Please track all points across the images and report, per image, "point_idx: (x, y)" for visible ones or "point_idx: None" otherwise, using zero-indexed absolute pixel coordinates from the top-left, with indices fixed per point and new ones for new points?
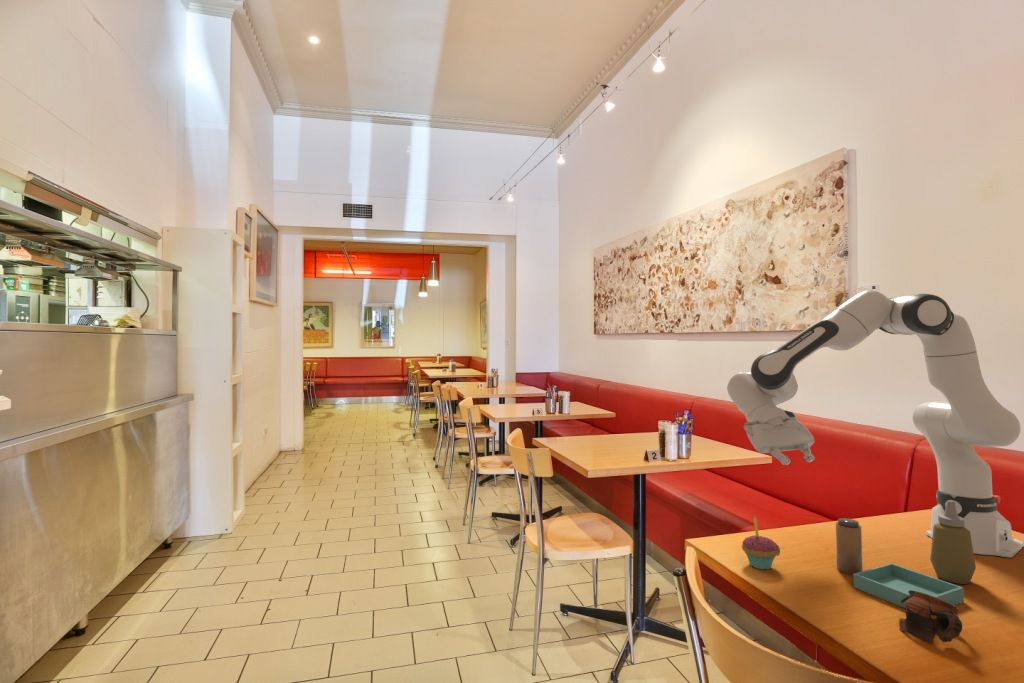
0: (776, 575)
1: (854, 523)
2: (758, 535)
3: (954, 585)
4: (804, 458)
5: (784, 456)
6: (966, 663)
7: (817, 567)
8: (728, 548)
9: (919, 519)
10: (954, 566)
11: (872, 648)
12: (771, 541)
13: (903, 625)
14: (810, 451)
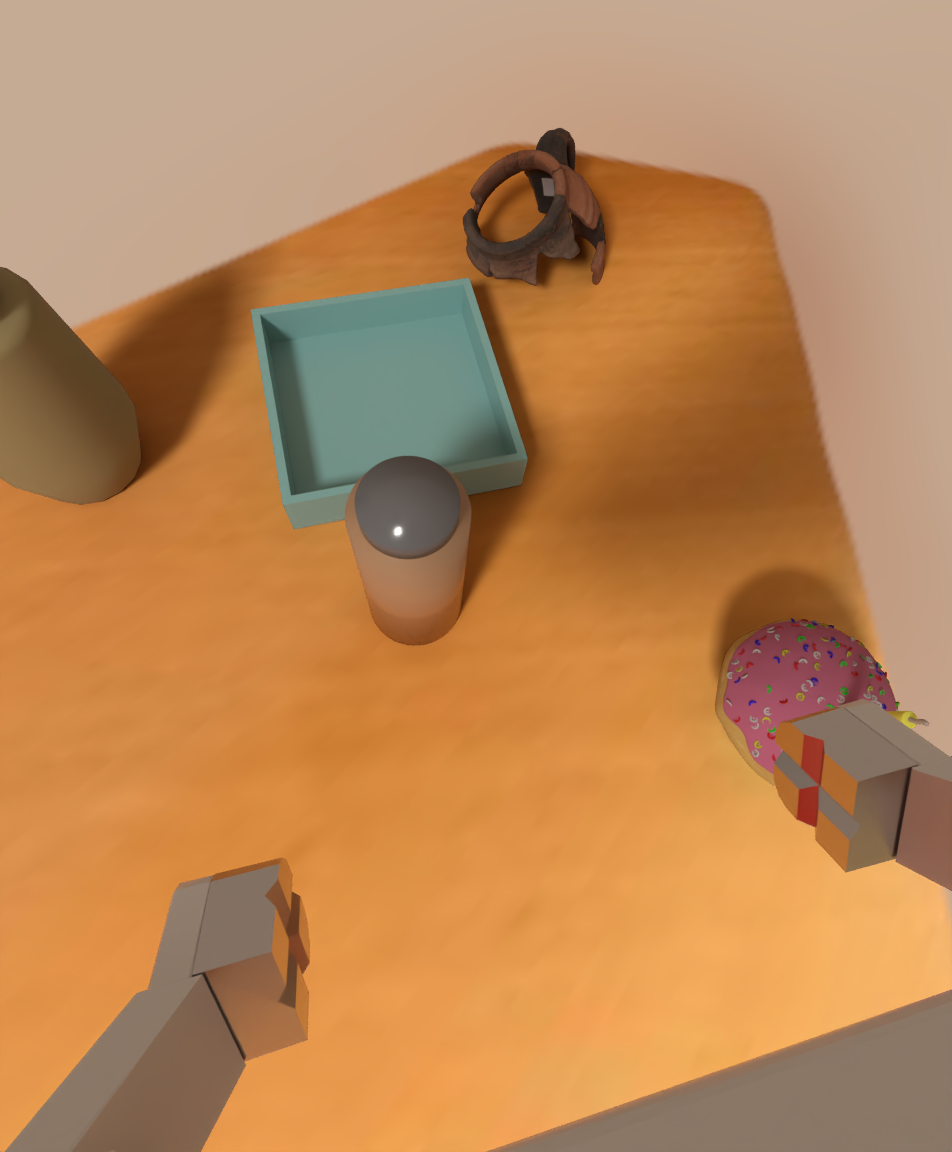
0: (744, 622)
1: (410, 460)
2: None
3: (260, 325)
4: (305, 1010)
5: (922, 756)
6: None
7: (524, 656)
8: (826, 967)
9: None
10: (118, 381)
11: (729, 246)
12: (784, 658)
13: (603, 259)
14: (119, 1030)
